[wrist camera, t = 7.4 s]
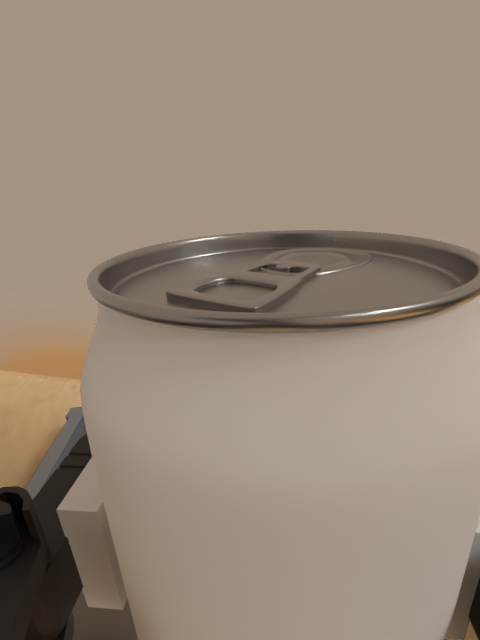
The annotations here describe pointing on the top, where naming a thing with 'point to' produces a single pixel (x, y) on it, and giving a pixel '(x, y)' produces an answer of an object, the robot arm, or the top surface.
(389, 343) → the can
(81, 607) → the tray
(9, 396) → the top surface
